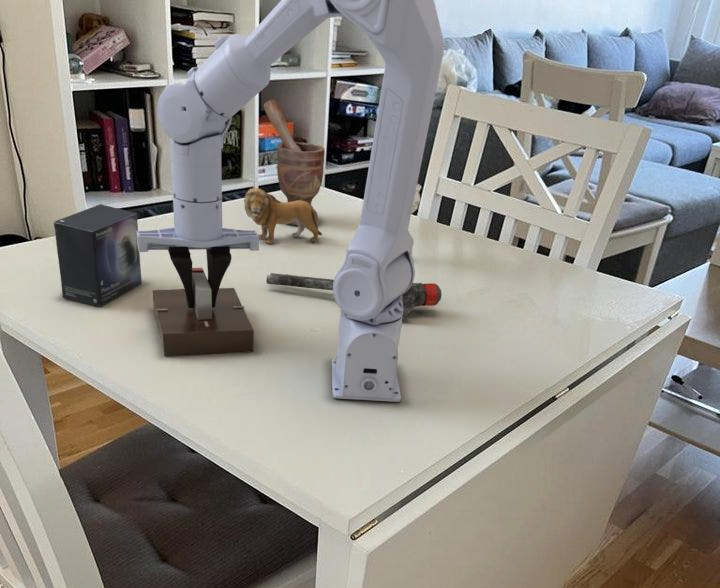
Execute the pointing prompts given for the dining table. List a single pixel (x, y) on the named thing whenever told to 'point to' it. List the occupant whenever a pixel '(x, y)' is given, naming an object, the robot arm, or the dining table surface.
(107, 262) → the small box
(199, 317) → the tap handle
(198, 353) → the block
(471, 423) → the dining table surface
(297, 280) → the grey and red tool
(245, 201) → the lion figurine
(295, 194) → the mortar and pestle
